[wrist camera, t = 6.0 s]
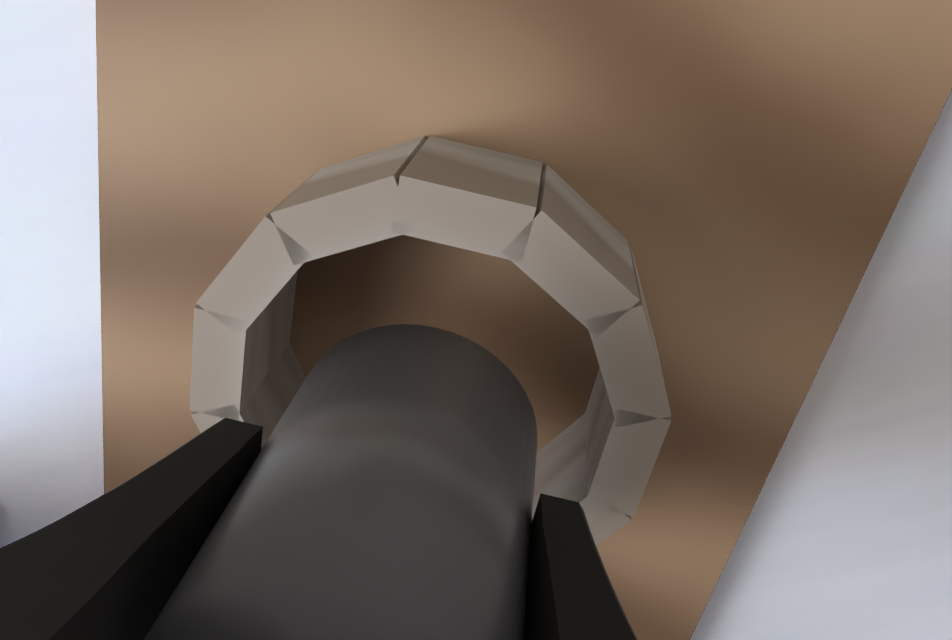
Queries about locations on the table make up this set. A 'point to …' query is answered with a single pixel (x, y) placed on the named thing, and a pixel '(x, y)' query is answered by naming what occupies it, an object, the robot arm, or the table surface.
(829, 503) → the table surface
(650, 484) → the lens collar
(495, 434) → the grey rounded cylinder
